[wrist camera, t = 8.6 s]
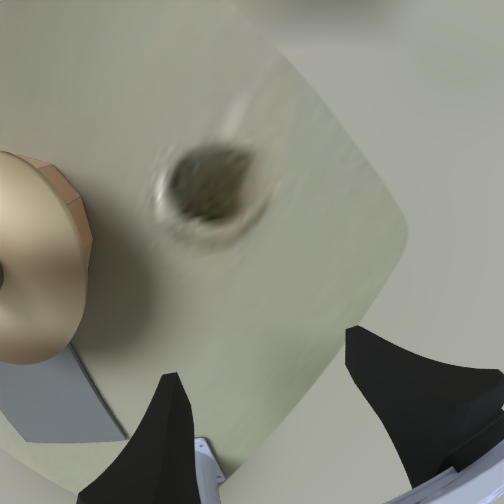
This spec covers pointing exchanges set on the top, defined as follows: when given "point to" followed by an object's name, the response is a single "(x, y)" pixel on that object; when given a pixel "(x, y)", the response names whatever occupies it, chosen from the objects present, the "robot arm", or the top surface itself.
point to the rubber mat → (55, 402)
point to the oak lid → (37, 266)
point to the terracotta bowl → (68, 201)
